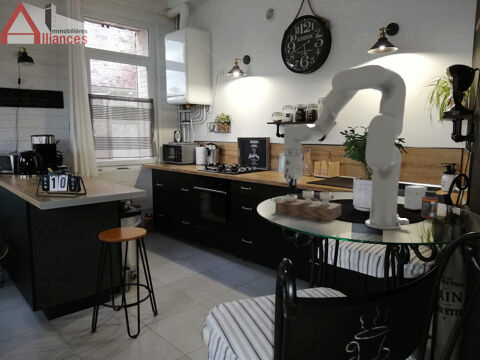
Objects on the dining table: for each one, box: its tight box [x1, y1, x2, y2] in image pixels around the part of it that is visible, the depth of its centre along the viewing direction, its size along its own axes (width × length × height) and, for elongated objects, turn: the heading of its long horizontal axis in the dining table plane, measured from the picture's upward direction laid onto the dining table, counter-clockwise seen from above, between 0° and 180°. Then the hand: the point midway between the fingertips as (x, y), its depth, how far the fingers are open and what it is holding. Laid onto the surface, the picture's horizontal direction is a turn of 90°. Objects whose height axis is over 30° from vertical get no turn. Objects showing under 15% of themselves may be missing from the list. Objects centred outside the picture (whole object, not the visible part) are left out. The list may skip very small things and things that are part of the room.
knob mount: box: [274, 198, 342, 222], centre depth 155 cm, size 26×12×5 cm, turn 55°
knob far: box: [285, 194, 298, 202], centre depth 159 cm, size 5×5×7 cm
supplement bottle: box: [420, 190, 439, 220], centre depth 147 cm, size 6×6×11 cm
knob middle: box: [302, 190, 315, 204], centre depth 154 cm, size 5×5×7 cm
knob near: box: [319, 191, 332, 206], centre depth 149 cm, size 5×5×7 cm
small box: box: [403, 185, 428, 210], centre depth 167 cm, size 8×6×10 cm
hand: (292, 193), depth 158 cm, fingers closed
